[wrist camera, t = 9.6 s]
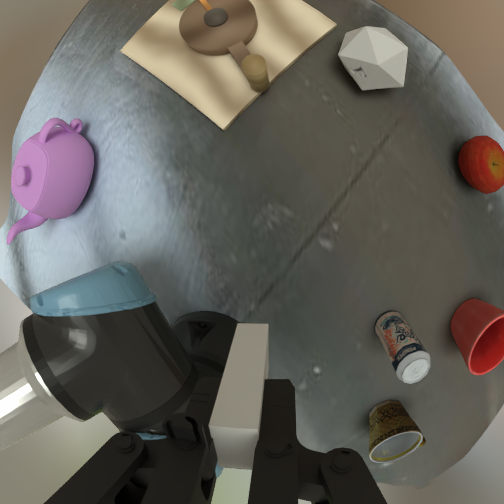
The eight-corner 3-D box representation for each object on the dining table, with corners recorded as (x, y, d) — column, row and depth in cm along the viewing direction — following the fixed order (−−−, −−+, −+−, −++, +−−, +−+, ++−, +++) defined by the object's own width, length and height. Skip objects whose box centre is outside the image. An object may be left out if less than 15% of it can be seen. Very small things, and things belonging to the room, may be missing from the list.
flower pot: (437, 350, 39) (460, 383, 30) (449, 293, 36) (480, 322, 27) (479, 338, 37) (504, 366, 28) (492, 285, 35) (524, 308, 25)
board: (224, 130, 34) (222, 129, 32) (123, 53, 31) (119, 50, 30) (335, 28, 28) (337, 23, 26) (222, -36, 25) (220, -40, 24)
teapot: (67, 108, 34) (17, 100, 23) (119, 136, 35) (66, 129, 24) (33, 211, 40) (-13, 224, 29) (76, 248, 41) (29, 270, 29)
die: (327, 40, 29) (321, 50, 23) (380, 15, 23) (391, 17, 17) (361, 88, 33) (363, 111, 27) (412, 66, 27) (430, 84, 21)
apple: (472, 200, 32) (503, 207, 24) (441, 165, 31) (472, 166, 24) (491, 162, 29) (522, 164, 22) (461, 127, 29) (492, 122, 21)
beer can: (401, 306, 37) (434, 350, 26) (402, 331, 38) (431, 378, 27) (372, 315, 38) (398, 363, 27) (375, 340, 39) (398, 390, 28)
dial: (171, 19, 28) (151, -4, 21) (233, -13, 26) (223, -40, 19) (228, 110, 31) (214, 95, 24) (300, 75, 29) (303, 53, 22)
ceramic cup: (351, 424, 45) (358, 462, 35) (378, 390, 42) (391, 430, 32) (400, 428, 45) (411, 462, 35) (427, 396, 42) (444, 430, 32)
